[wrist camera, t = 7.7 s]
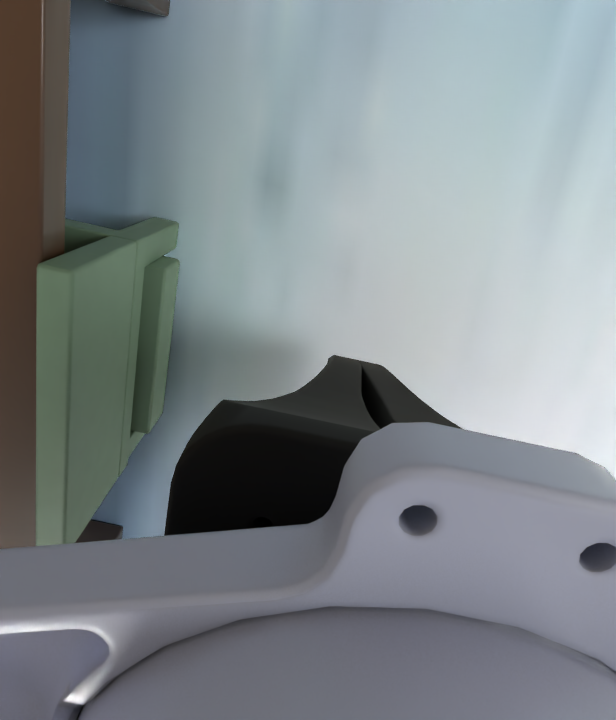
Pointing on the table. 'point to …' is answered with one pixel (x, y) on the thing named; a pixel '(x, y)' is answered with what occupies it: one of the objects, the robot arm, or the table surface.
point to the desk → (32, 233)
